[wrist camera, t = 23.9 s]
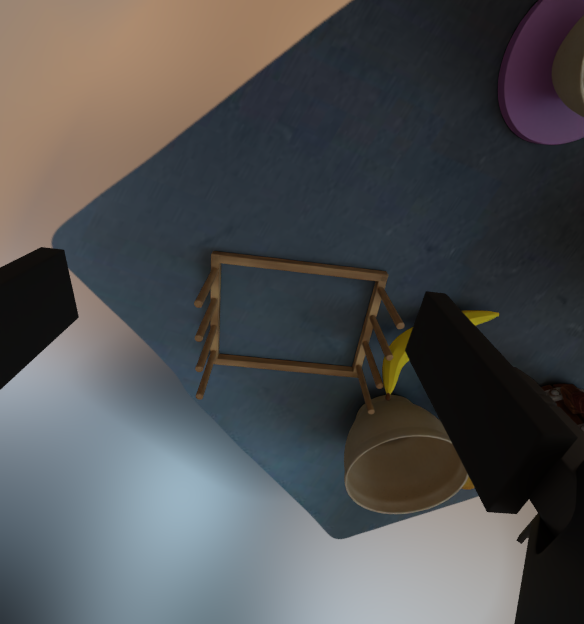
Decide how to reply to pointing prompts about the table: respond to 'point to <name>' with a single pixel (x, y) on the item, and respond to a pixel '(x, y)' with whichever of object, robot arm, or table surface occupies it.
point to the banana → (400, 357)
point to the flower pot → (571, 69)
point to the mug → (568, 401)
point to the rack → (285, 365)
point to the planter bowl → (400, 459)
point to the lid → (539, 75)
